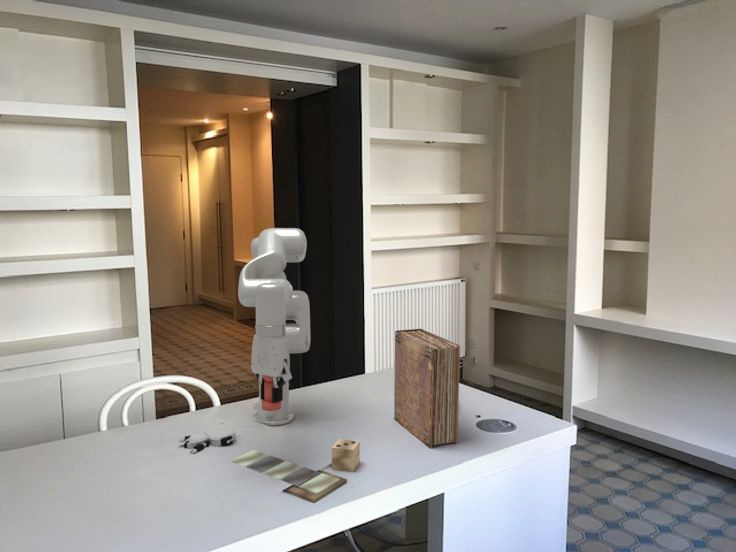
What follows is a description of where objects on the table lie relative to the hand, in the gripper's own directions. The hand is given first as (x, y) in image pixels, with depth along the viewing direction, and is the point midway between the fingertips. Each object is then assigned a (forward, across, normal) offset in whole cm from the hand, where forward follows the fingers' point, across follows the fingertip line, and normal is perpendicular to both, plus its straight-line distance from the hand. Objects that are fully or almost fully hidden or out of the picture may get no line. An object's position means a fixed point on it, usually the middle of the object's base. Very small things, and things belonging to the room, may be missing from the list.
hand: (271, 399), depth 154 cm
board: (+20, +3, +1) cm, 20 cm away
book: (+20, +17, +49) cm, 55 cm away
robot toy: (+20, -27, +1) cm, 33 cm away
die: (+20, +13, +15) cm, 28 cm away
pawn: (+2, 0, 0) cm, 2 cm away
